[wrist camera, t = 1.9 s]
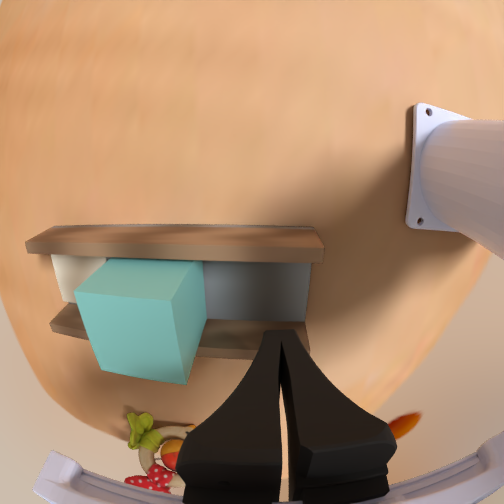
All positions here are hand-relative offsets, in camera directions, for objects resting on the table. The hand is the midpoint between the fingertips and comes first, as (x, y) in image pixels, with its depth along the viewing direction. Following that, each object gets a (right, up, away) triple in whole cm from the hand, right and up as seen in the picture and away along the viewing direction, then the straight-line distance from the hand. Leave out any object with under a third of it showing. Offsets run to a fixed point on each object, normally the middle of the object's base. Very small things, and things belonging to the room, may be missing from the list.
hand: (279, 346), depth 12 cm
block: (-7, +2, +5) cm, 9 cm away
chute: (-7, +3, +6) cm, 10 cm away
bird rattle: (-10, -14, +13) cm, 22 cm away
